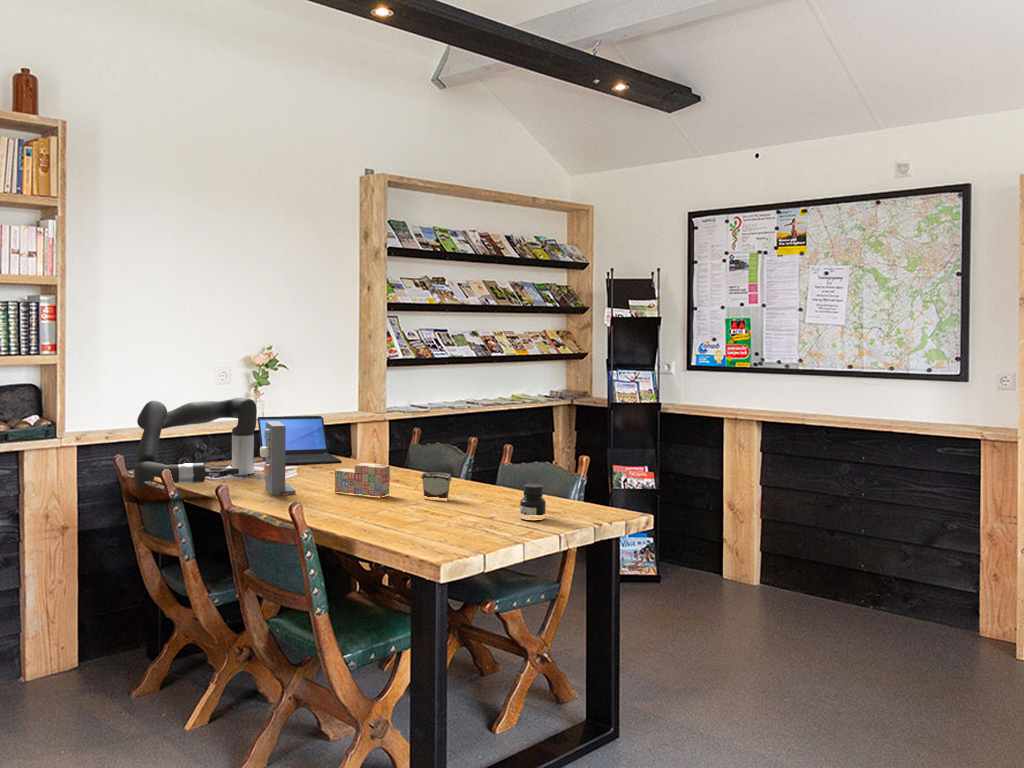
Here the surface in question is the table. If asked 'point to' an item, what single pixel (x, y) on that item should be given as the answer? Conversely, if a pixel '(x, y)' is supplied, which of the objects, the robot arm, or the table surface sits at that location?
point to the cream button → (265, 451)
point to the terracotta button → (266, 469)
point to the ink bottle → (533, 500)
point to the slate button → (266, 433)
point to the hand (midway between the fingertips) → (238, 471)
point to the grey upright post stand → (277, 460)
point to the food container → (436, 484)
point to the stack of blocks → (364, 479)
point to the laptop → (301, 439)
